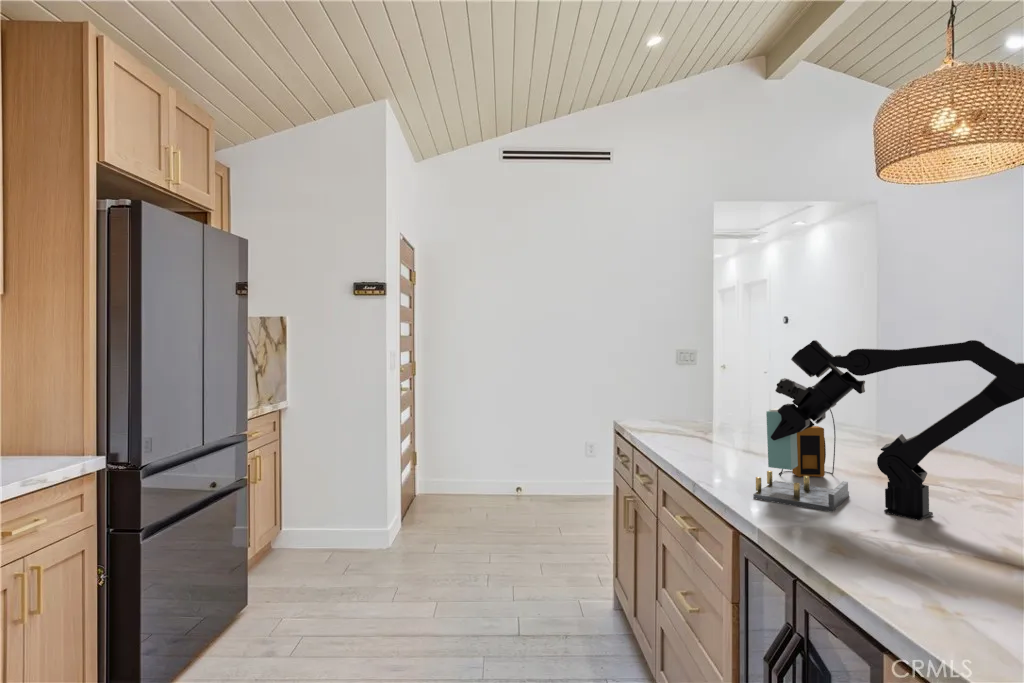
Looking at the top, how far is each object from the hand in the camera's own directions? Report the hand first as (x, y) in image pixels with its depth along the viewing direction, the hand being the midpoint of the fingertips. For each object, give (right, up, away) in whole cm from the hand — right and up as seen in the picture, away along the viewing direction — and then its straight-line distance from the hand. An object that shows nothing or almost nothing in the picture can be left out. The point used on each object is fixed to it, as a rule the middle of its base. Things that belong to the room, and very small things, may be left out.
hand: (775, 437), depth 130 cm
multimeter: (+17, -13, +20) cm, 29 cm away
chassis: (+4, -13, -3) cm, 14 cm away
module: (+1, -7, -1) cm, 7 cm away
